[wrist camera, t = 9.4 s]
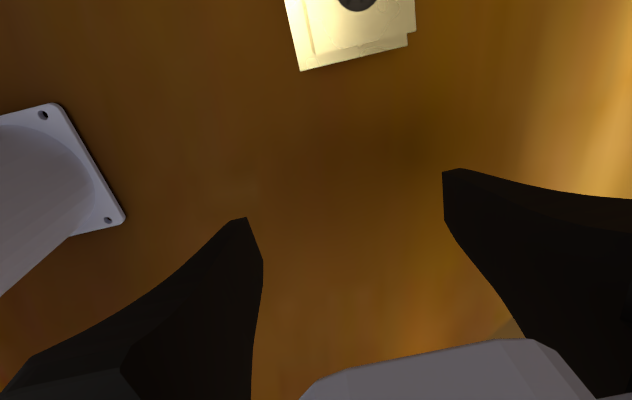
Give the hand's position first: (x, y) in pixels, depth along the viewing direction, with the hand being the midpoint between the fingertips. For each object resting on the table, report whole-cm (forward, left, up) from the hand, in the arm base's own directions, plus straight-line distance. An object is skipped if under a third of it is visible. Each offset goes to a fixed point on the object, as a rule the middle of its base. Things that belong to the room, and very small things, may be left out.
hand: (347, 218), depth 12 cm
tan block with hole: (+2, +7, -9) cm, 12 cm away
